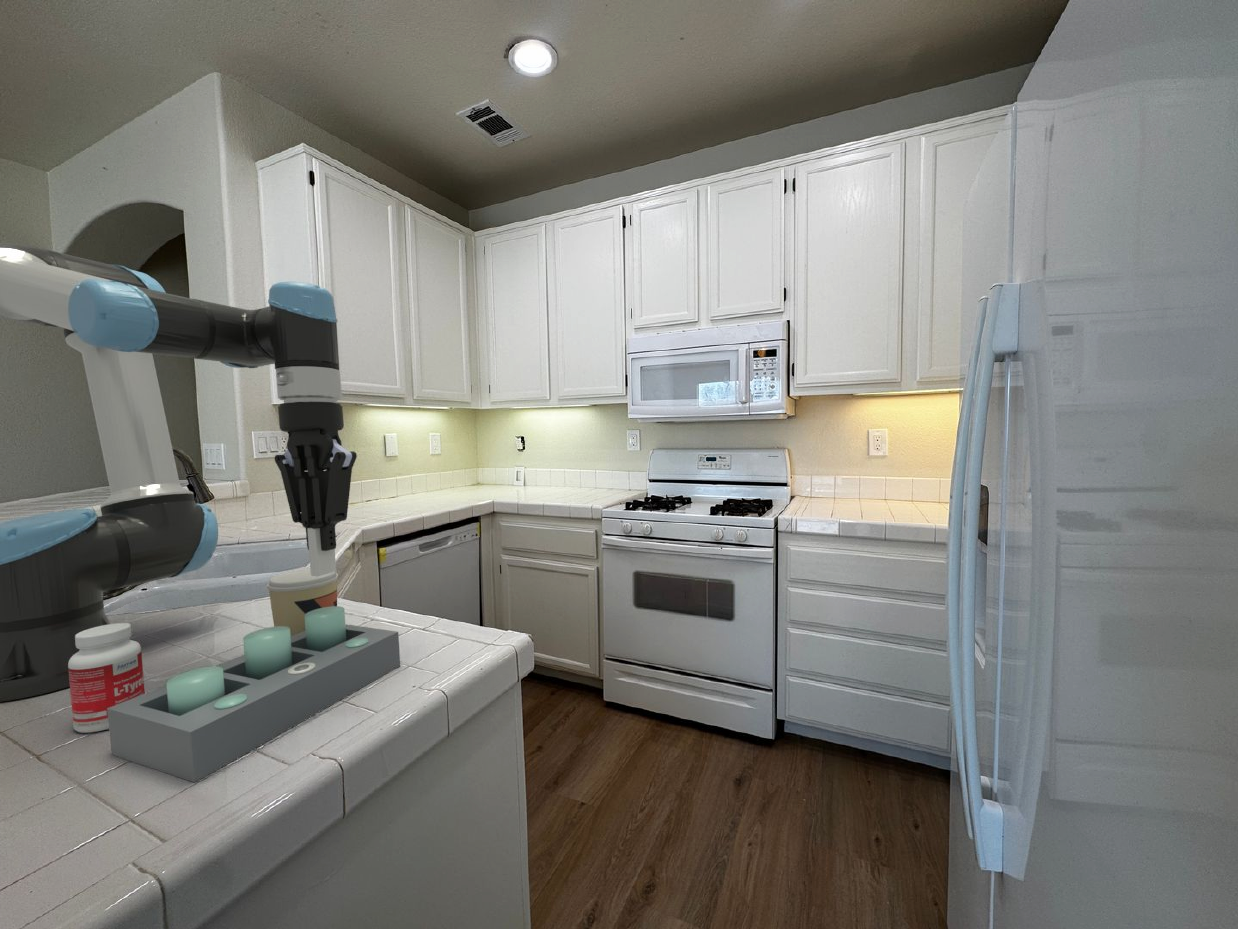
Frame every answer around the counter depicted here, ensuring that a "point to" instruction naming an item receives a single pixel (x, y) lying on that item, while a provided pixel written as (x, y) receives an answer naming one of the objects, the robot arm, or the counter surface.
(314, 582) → the coffee cup
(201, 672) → the button
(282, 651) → the button
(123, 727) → the board
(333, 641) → the button
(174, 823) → the counter surface
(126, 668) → the pill bottle
